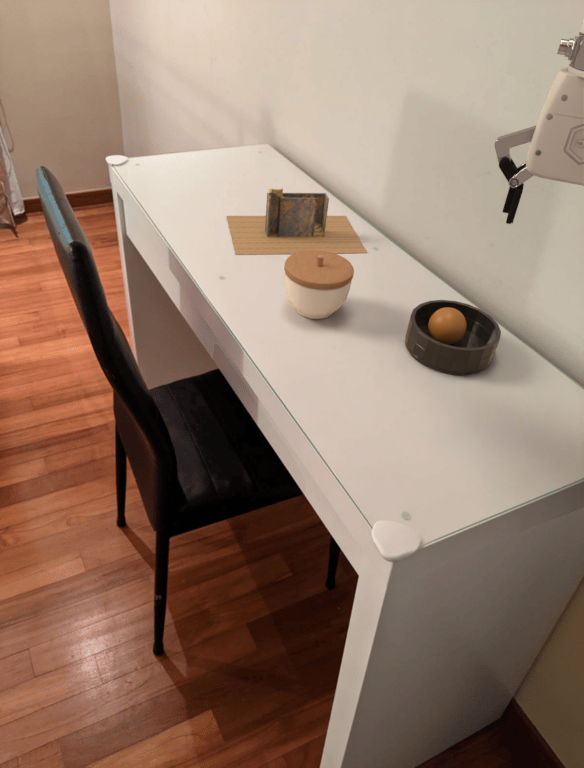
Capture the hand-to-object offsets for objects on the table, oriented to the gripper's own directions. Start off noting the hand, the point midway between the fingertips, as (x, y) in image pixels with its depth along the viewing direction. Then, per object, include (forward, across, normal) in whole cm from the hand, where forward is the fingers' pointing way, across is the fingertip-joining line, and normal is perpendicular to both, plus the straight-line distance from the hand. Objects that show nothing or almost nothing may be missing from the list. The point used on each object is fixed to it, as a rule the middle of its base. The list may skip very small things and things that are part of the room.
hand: (553, 228), depth 69 cm
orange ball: (+24, -8, +10) cm, 27 cm away
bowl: (+25, -8, +10) cm, 28 cm away
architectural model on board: (+24, -42, +34) cm, 59 cm away
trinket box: (+25, -30, +10) cm, 40 cm away
